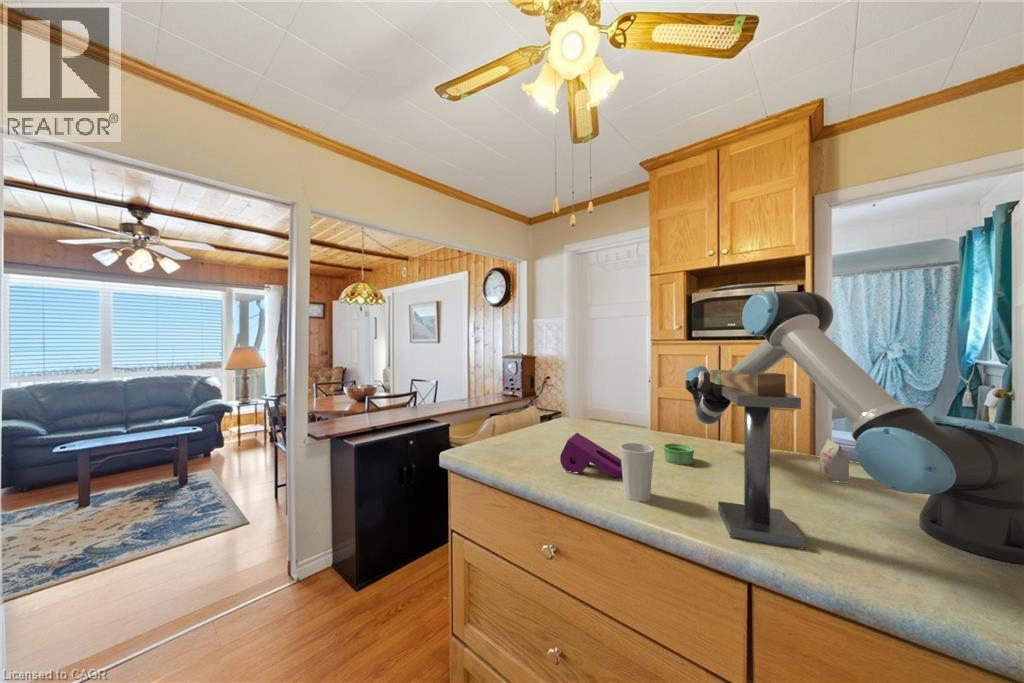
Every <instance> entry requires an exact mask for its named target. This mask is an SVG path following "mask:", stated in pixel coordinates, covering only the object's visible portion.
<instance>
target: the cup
mask: <svg viewBox="0 0 1024 683" xmlns="http://www.w3.org/2000/svg"><path fill="white" fill-rule="evenodd" d="M619 450H620V459H621V463H622V475H623V478H622V486H623V496H624V495H625V496H624V497H625V498H626V497H627V498H626V499H628V498H629V499H628V500H630V499H631V500H630V501H633V500H635V501H634V502H640V501H643V502H648V501H650V500H651V498H652V497H651V496H652V495H651V494H652V479H653V478H652V477H653V464H654V456H655V455H654V454H655V448H654V447H653V446H651V445H649V444H644V443H639V442H625V443H622V444H620V446H619ZM649 499H650V500H649ZM647 500H648V501H647Z"/></svg>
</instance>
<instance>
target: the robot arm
mask: <svg viewBox="0 0 1024 683" xmlns="http://www.w3.org/2000/svg"><path fill="white" fill-rule="evenodd" d="M741 314H742V315H741V321H742V322H741V323H742V325H743V328H744V330H745V332H747V333H748V334H749V335H752V336H756V337H760V336H762V337H763V338H764V340H763V341H762V342H761V343H759V344H758V345H757V346H756V347H755V348H754V349H753V350H751V351H750V352H749V353H748V354H747V355H745V357H743V358H742V359H741V360H740V361H739V362H737V363H736V364H735V365H734V366H732V368H731V369H730V370H729V371H734V372H738V373H744V374H749V373H767V372H768V371H769V370H770V369H772V368H773V367H774V366H776V365H777V364H778V363H781V361H783V360H784V359H786V358H787V357H788V356H789V357H790V358H791V359H792V360H793V361H794V363H796V365H798V367H799V368H800V369H801V370H802V371H803V372H804V373H805V374H806V375H807V377H808V378H809V379H810V380H811V381H812V382H813V383H814V385H815V386H817V388H819V389H820V391H821V392H822V393H823V394H824V395H825V396H826V397H827V398H828V400H829V401H830V402H831V403H832V404H833V405H834V407H836V408H837V410H839V412H840V413H842V415H843V416H844V417H845V418H846V419H847V420H848V421H849V422H850V423H851V425H852V427H853V428H852V432H851V437H852V438H853V440H854V441H855V443H854V444H855V445H854V450H855V451H856V452H857V453H856V454H855V456H856V459H857V462H858V463H859V465H860V466H861V468H862V469H863V471H864V472H865V473H867V475H869V477H871V478H872V479H873V480H874V481H876V482H877V483H879V484H881V485H882V486H883V487H886V488H888V489H891V490H893V491H898V492H901V493H905V494H918V495H929V496H928V498H927V500H926V502H925V504H924V505H923V507H922V509H921V511H920V512H919V516H918V518H919V519H918V522H919V523H918V524H919V525H918V526H919V527H920V529H921V530H922V531H923V532H925V533H926V534H927V535H929V536H931V537H932V538H935V539H936V540H938V541H940V542H942V543H945V544H947V545H950V546H953V547H955V548H958V549H960V550H964V551H967V552H969V553H973V554H976V555H980V556H983V557H986V558H990V559H994V560H999V561H1004V562H1009V563H1014V564H1022V565H1024V428H1022V427H1020V426H1015V425H1009V424H1004V423H999V422H992V421H983V420H976V419H970V418H965V417H956V416H950V415H949V416H948V415H941V414H940V415H937V414H936V415H935V416H933V417H932V420H931V419H930V418H929V417H928V416H927V415H926V414H924V412H923V411H921V410H920V409H919V408H918V407H916V406H911V405H904V404H901V403H899V402H898V401H897V399H895V398H894V397H893V396H892V395H891V394H889V392H888V391H887V390H885V389H884V388H883V387H882V386H881V385H880V384H879V383H878V382H877V381H876V380H875V379H874V378H872V376H871V375H869V373H868V372H866V371H865V369H863V368H861V366H859V364H858V363H856V362H855V361H854V360H853V359H852V358H851V357H850V356H849V355H848V354H847V353H846V352H844V350H843V349H841V348H840V347H839V346H838V345H837V344H836V343H835V342H834V341H833V340H832V339H831V338H830V337H829V336H827V335H826V334H825V333H826V332H827V331H828V329H829V328H830V326H831V324H832V322H833V320H834V309H833V307H832V305H831V303H830V301H829V300H827V298H825V297H824V296H822V295H820V294H818V293H815V292H809V291H802V292H801V291H799V292H798V291H774V290H768V291H759V292H757V293H755V294H752V295H751V296H750V297H749V299H748V300H747V301H746V303H745V305H744V306H743V309H742V313H741ZM685 378H686V380H684V381H685V390H686V391H688V392H689V394H691V395H692V397H693V398H692V399H693V402H694V405H695V408H696V409H695V417H696V418H697V419H698V421H700V422H701V423H702V424H707V425H713V424H715V423H716V422H718V421H719V420H721V417H722V415H724V412H726V410H727V409H728V408H729V406H730V404H731V403H732V402H731V401H730V400H729V399H727V398H726V397H724V396H723V395H722V386H725V385H719V384H715V383H713V382H710V370H708V368H707V367H706V366H704V365H697V366H693V367H691V368H689V369H687V370H686V372H685Z"/></svg>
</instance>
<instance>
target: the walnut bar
mask: <svg viewBox="0 0 1024 683" xmlns="http://www.w3.org/2000/svg"><path fill="white" fill-rule="evenodd" d="M709 373H710V382H713V383H715V384H719V385H725V386H729V387H733V388H737V389H740V390H744V391H748V392H749V393H751V394H755V395H778V396H786V393H787V391H786V390H787V389H786V386H787V384H786V377H787V376H786V374H784V373H777V372H765V373H749V374H744V373H738V372H734V371H729V370H728V369H727V370H725V369H710V370H709Z"/></svg>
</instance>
